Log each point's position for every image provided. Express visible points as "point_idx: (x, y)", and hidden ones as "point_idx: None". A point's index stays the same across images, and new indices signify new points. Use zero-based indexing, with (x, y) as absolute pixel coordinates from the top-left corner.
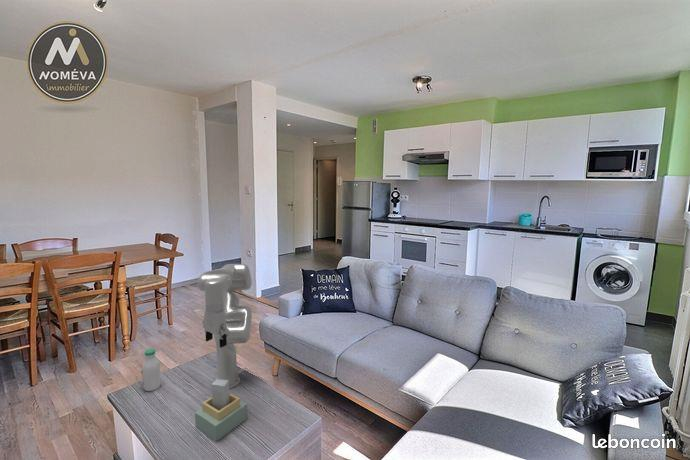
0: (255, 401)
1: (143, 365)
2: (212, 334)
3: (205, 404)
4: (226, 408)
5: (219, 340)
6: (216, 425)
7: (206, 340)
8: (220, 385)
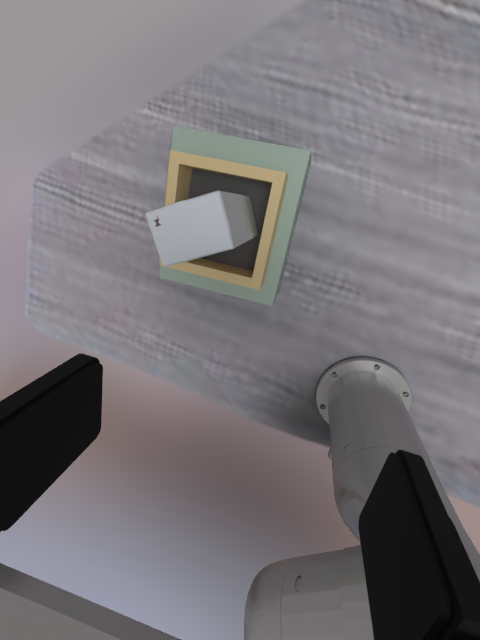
0: (208, 340)
1: None
2: (368, 599)
3: (263, 171)
4: (167, 194)
5: (14, 423)
6: (173, 129)
7: (406, 459)
8: (166, 206)
